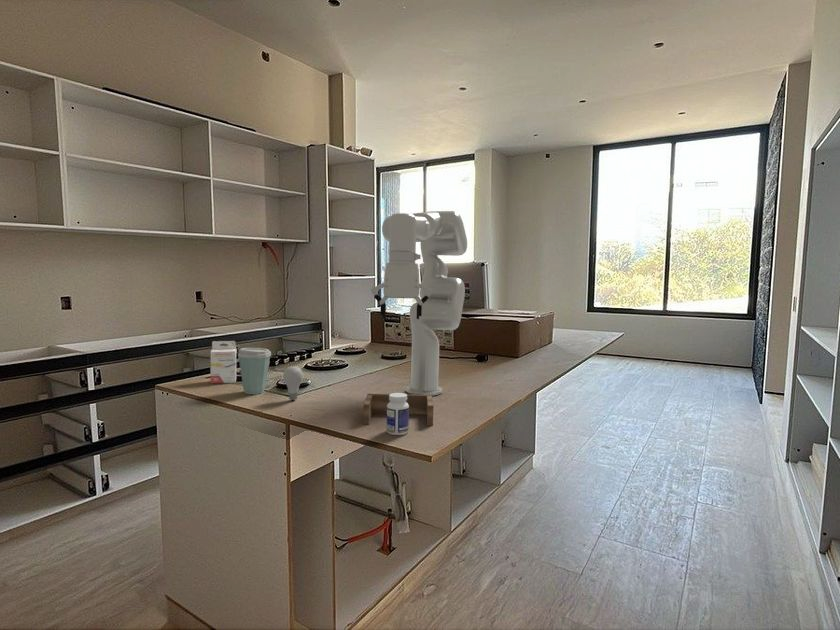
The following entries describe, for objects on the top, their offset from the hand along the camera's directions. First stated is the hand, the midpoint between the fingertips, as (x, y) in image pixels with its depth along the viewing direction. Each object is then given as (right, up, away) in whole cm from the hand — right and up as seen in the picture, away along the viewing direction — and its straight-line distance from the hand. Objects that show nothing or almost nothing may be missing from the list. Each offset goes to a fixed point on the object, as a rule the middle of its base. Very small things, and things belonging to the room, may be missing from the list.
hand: (401, 318), depth 136 cm
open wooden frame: (-1, -29, -1) cm, 29 cm away
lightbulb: (-35, -26, +15) cm, 46 cm away
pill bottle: (0, -30, -12) cm, 32 cm away
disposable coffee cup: (-50, -25, +24) cm, 61 cm away
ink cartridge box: (-66, -24, +37) cm, 80 cm away
